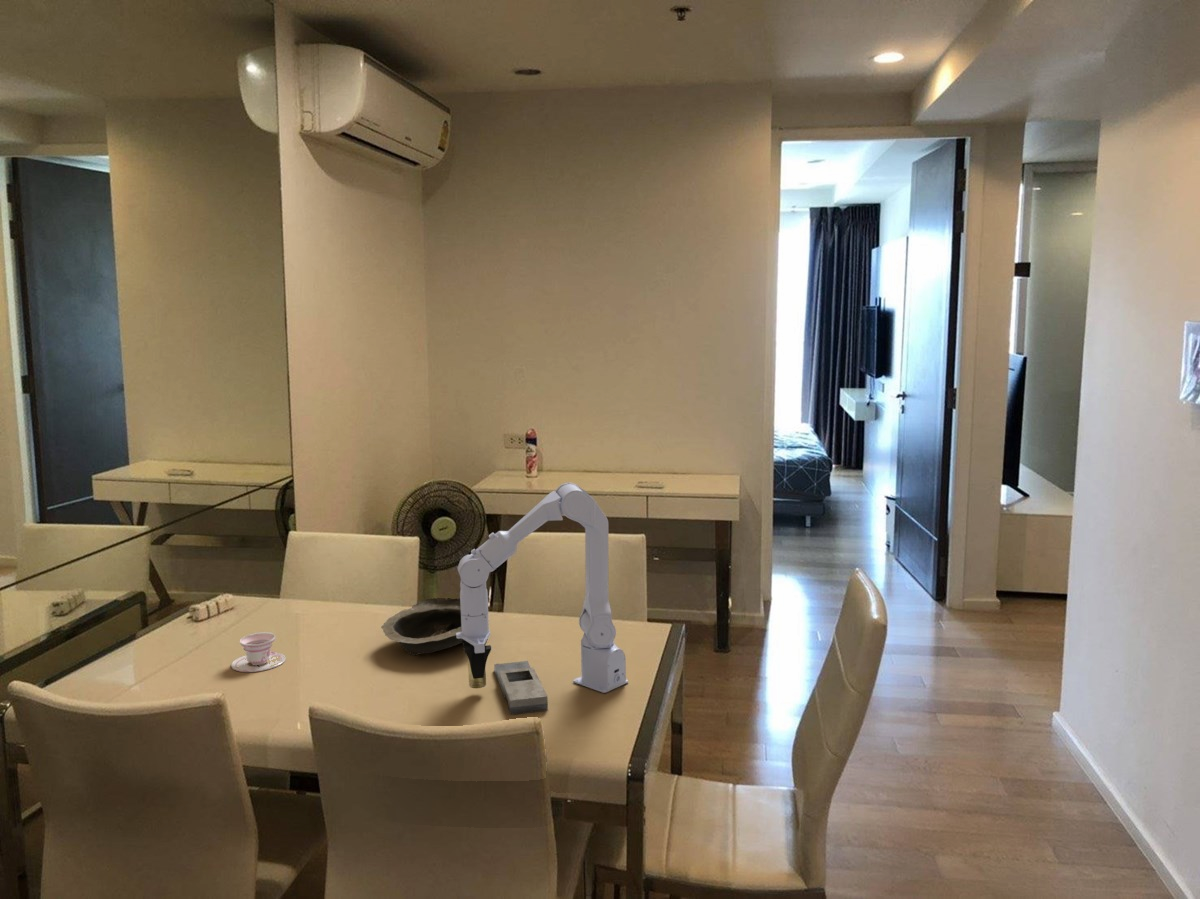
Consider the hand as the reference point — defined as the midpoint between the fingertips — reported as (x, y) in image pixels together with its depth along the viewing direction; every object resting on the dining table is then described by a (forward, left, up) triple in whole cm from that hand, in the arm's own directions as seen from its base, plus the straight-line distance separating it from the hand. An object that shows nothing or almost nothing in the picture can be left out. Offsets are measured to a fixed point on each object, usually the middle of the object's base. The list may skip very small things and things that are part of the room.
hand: (477, 673), depth 196 cm
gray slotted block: (-5, -8, -5) cm, 10 cm away
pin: (0, 0, -2) cm, 2 cm away
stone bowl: (+30, -12, -5) cm, 33 cm away
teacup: (+53, +22, -5) cm, 58 cm away
